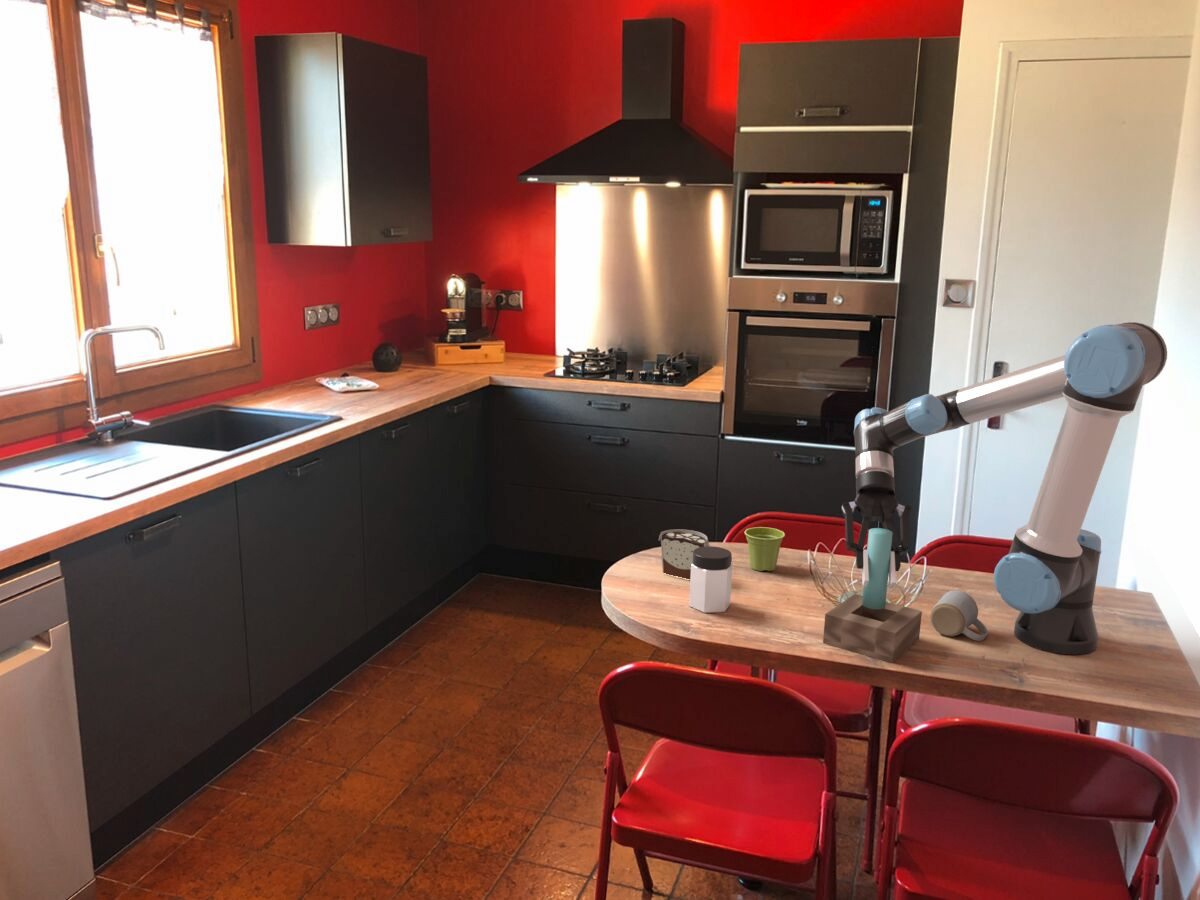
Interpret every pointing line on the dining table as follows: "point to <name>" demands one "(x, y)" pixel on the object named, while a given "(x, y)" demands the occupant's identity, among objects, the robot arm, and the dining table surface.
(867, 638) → the hole block
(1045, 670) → the dining table surface
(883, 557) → the pin
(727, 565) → the jar
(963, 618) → the ceramic mug
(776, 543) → the plant pot
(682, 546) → the food container
